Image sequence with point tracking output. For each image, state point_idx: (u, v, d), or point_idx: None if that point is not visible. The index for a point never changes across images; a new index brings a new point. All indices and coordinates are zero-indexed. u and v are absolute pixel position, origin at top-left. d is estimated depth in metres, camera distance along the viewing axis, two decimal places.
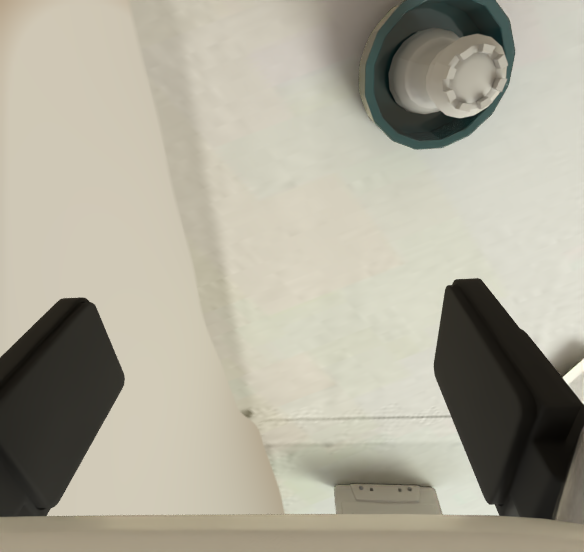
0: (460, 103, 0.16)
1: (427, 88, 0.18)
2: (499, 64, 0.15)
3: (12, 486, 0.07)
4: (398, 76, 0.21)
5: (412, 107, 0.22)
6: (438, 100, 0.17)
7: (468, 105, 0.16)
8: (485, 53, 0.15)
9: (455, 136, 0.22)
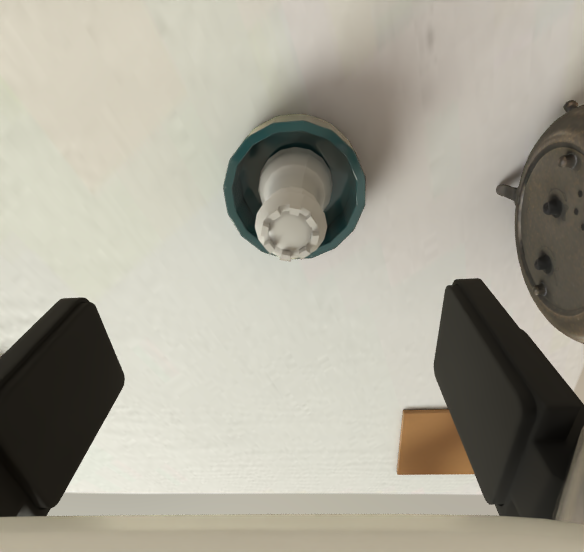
0: (268, 225, 0.16)
1: (281, 189, 0.17)
2: (302, 251, 0.16)
3: (12, 486, 0.07)
4: (292, 158, 0.20)
5: (264, 176, 0.21)
6: (270, 203, 0.16)
7: (266, 233, 0.16)
8: (311, 238, 0.16)
9: (239, 223, 0.22)
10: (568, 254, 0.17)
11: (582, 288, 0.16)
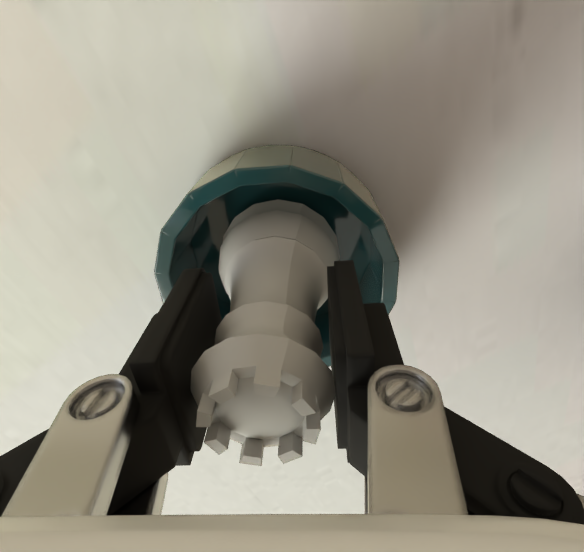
0: (211, 405, 0.08)
1: (245, 307, 0.09)
2: (285, 452, 0.08)
3: (176, 427, 0.08)
4: (272, 223, 0.12)
5: (226, 251, 0.12)
6: (216, 357, 0.08)
7: (207, 423, 0.07)
8: (303, 427, 0.08)
9: None
10: None
11: None
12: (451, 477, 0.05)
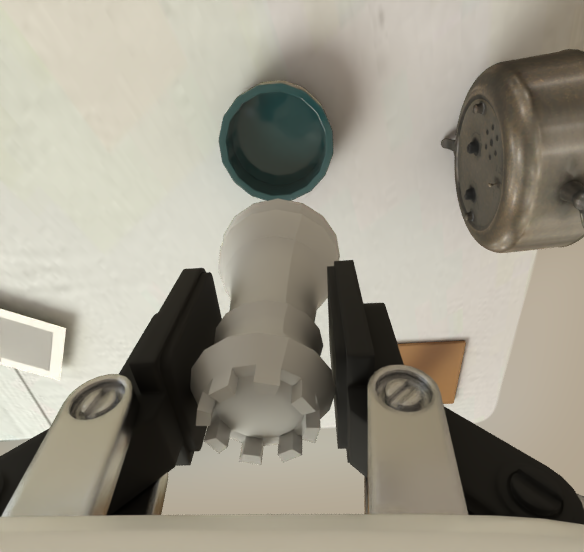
0: (211, 404, 0.08)
1: (245, 306, 0.09)
2: (285, 451, 0.08)
3: (176, 427, 0.08)
4: (272, 223, 0.12)
5: (225, 251, 0.12)
6: (216, 356, 0.08)
7: (207, 422, 0.07)
8: (303, 425, 0.08)
9: (232, 171, 0.27)
10: (483, 182, 0.22)
11: (491, 204, 0.21)
12: (451, 477, 0.05)
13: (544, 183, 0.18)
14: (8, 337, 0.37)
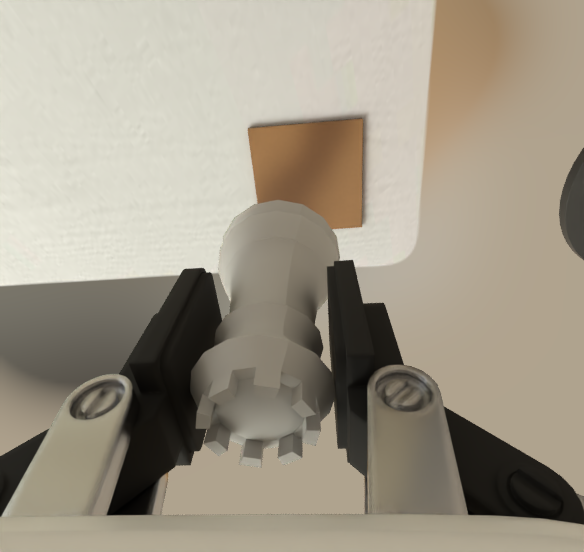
0: (211, 406, 0.08)
1: (245, 308, 0.09)
2: (285, 454, 0.08)
3: (176, 427, 0.08)
4: (272, 224, 0.12)
5: (225, 252, 0.12)
6: (215, 358, 0.08)
7: (207, 425, 0.07)
8: (303, 428, 0.08)
9: None
10: None
11: None
12: (451, 477, 0.05)
13: None
14: None
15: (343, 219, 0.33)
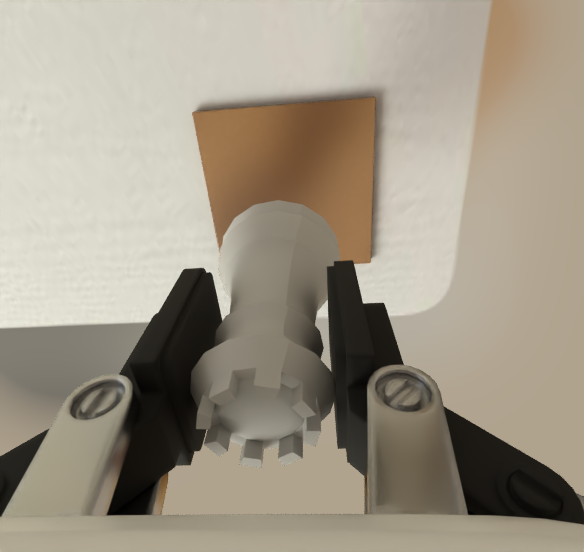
0: (211, 407, 0.08)
1: (245, 308, 0.09)
2: (285, 454, 0.08)
3: (176, 426, 0.08)
4: (272, 224, 0.12)
5: (226, 252, 0.12)
6: (216, 359, 0.08)
7: (207, 425, 0.07)
8: (303, 428, 0.08)
9: None
10: None
11: None
12: (451, 477, 0.05)
13: None
14: None
15: (343, 251, 0.22)
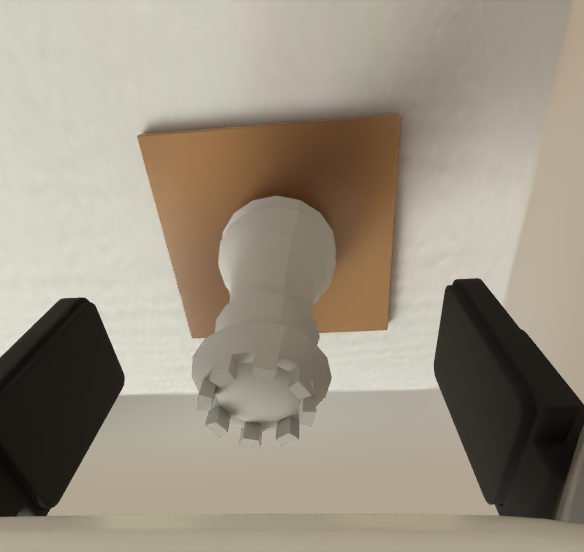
0: (212, 389, 0.08)
1: (244, 297, 0.09)
2: (282, 435, 0.08)
3: (12, 486, 0.07)
4: (270, 219, 0.12)
5: (225, 246, 0.13)
6: (216, 343, 0.08)
7: (208, 407, 0.08)
8: (300, 410, 0.08)
9: None
10: None
11: None
12: None
13: None
14: None
15: (351, 316, 0.16)
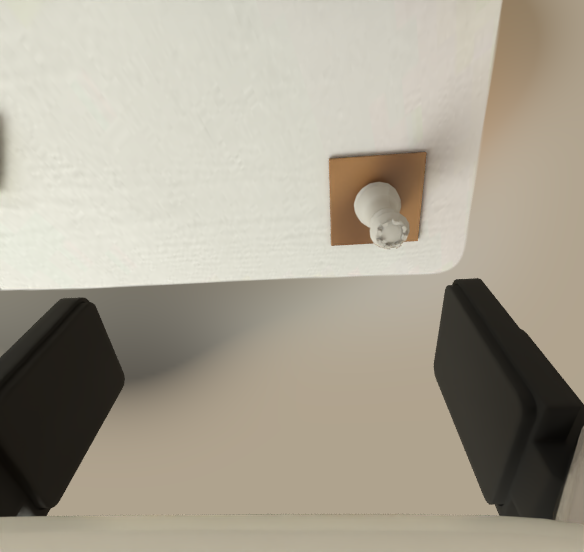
0: (380, 230, 0.30)
1: (382, 210, 0.31)
2: (397, 244, 0.30)
3: (12, 486, 0.07)
4: (380, 189, 0.34)
5: (361, 200, 0.35)
6: (380, 218, 0.30)
7: (379, 234, 0.30)
8: (402, 237, 0.30)
9: None
10: None
11: None
12: None
13: None
14: None
15: None
